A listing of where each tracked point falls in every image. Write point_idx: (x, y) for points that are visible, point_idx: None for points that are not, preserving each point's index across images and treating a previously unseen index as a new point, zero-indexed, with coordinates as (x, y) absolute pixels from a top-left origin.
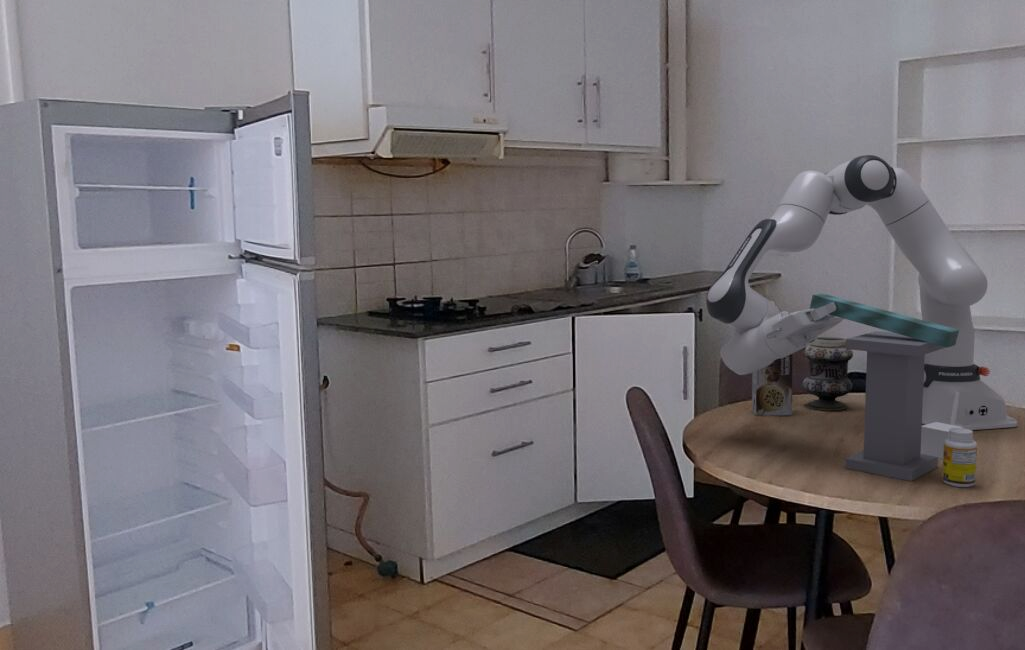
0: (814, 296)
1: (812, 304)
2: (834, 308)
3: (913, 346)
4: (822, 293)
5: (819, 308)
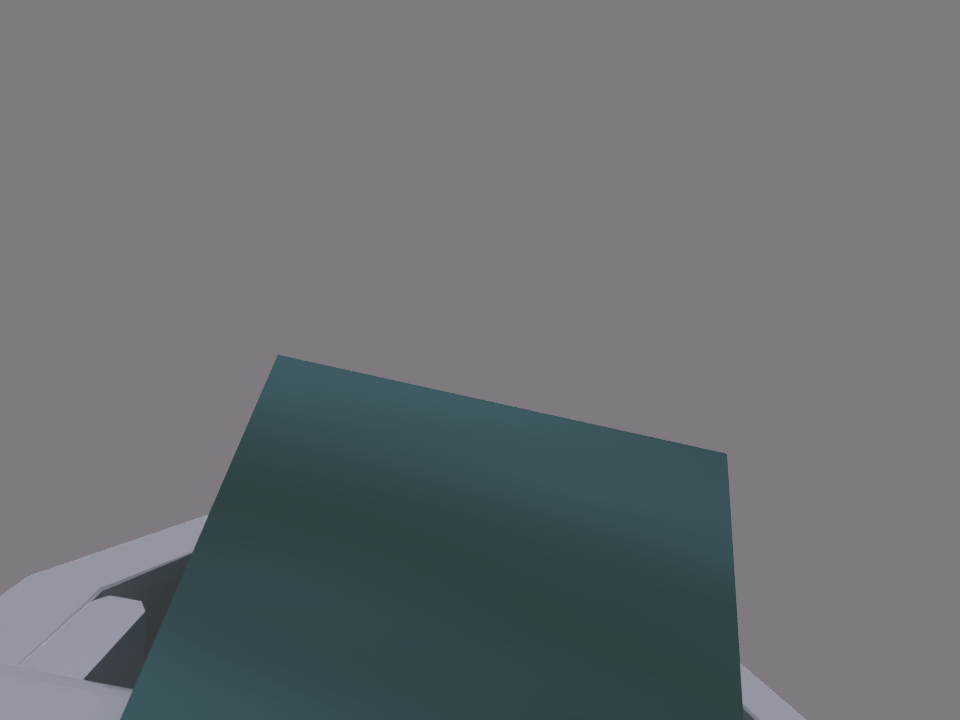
0: (697, 488)
1: (708, 711)
2: None
3: None
4: (288, 363)
5: (742, 679)
